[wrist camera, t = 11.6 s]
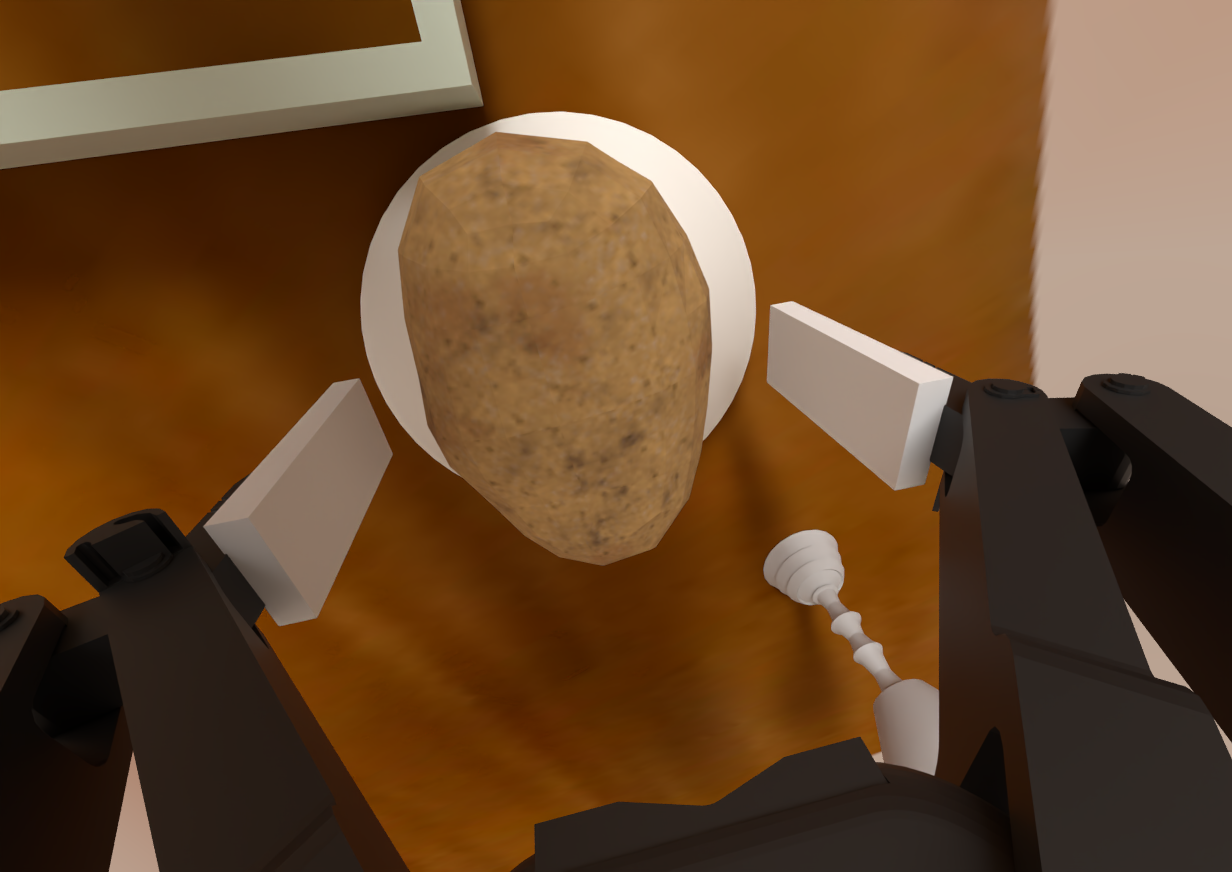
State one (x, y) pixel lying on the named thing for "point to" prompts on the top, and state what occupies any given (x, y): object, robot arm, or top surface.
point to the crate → (244, 97)
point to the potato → (559, 340)
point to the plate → (640, 152)
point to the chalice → (860, 649)
